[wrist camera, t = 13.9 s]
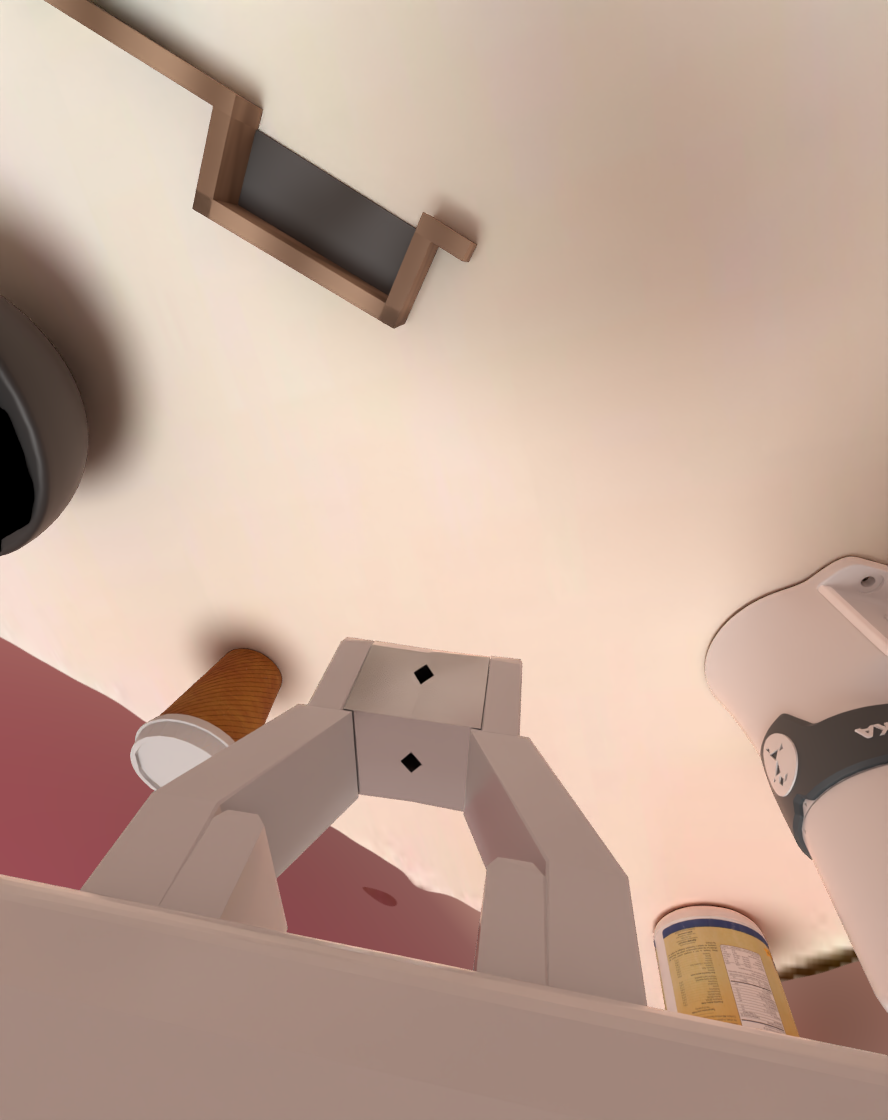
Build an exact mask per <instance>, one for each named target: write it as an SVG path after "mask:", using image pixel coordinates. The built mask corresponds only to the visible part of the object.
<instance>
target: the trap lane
mask: <svg viewBox="0 0 888 1120" xmlns="http://www.w3.org/2000/svg"><path fill="white" fill-rule="evenodd" d="M44 1H46V2H47V3H49V4H51V5H52V6H54V7H55V8H57V9H59V10H60V11H62V12H63V13H65V14H67V15H68V16H70V17H71V18H73V19H75V20H76V21H78V22H80V23H81V24H83V25H84V26H86V27H88V28H89V29H91V30H92V31H94V32H96V33H97V34H99V35H100V36H102V37H104V38H105V39H107V40H108V41H110V42H112V43H113V44H115V45H116V46H118V47H120V48H121V49H123V50H124V51H126V52H128V53H129V54H131V55H132V56H134V57H136V58H137V59H139V60H140V61H142V62H144V63H145V64H147V65H148V66H150V67H152V68H153V69H155V70H157V71H158V72H160V73H161V74H163V75H165V76H166V77H168V78H169V79H171V80H173V81H174V82H176V83H177V84H179V85H181V86H182V87H184V88H185V89H187V90H189V91H190V92H192V93H193V94H195V95H197V96H198V97H200V98H201V99H203V100H205V101H206V102H208V103H209V104H211V105H213V110H212V115H211V120H210V124H209V129H208V134H207V139H206V144H205V149H204V154H203V159H202V164H201V169H200V174H199V179H198V184H197V189H196V194H195V198H194V203H193V208H192V209H194V210H195V211H197V212H199V213H201V214H202V215H204V216H206V217H207V218H209V219H211V220H212V221H214V222H216V223H217V224H219V225H221V226H222V227H224V228H226V229H227V230H229V231H231V232H232V233H234V234H236V235H237V236H239V237H241V238H242V239H244V240H246V241H247V242H249V243H251V244H252V245H254V246H256V247H258V248H259V249H261V250H263V251H264V252H266V253H268V254H269V255H271V256H273V257H274V258H276V259H278V260H279V261H281V262H283V263H284V264H286V265H288V266H289V267H291V268H293V269H294V270H296V271H298V272H299V273H301V274H303V275H304V276H306V277H308V278H309V279H311V280H313V281H315V282H316V283H318V284H320V285H321V286H323V287H325V288H326V289H328V290H330V291H331V292H333V293H335V294H336V295H338V296H340V297H341V298H343V299H345V300H346V301H348V302H350V303H351V304H353V305H355V306H356V307H358V308H360V309H361V310H363V311H365V312H366V313H368V314H370V315H371V316H373V317H375V318H377V319H378V320H380V321H382V322H383V323H385V324H387V325H388V326H390V327H392V328H396V327H398V326H401V325H403V324H405V322H406V319H407V317H408V315H409V313H410V310H411V308H412V306H413V304H414V301H415V299H416V297H417V295H418V292H419V290H420V288H421V285H422V283H423V281H424V279H425V276H426V274H427V272H428V270H429V267H430V265H431V263H432V261H433V258H434V256H435V254H436V252H437V249H438V247H440V248H442V249H444V250H445V251H447V252H448V253H450V254H452V255H453V256H455V257H456V258H458V259H460V260H461V261H465V262H469V260H470V258H471V256H472V254H473V252H474V250H475V248H476V246H477V244H475V243H473V242H472V241H470V240H469V239H467V238H466V237H464V236H462V235H461V234H459V233H458V232H456V231H454V230H453V229H451V228H450V227H448V226H446V225H445V224H443V223H442V222H440V221H439V220H437V219H435V218H434V217H432V216H430V215H428V214H426V213H424V212H423V213H422V216H421V218H420V221H419V223H418V225H417V228H416V229H415V228H414V227H412V226H410V225H409V224H407V223H406V222H404V221H402V220H401V219H399V218H398V217H396V216H394V215H393V214H391V213H390V212H388V211H386V210H385V209H383V208H382V207H380V206H378V205H377V204H375V203H374V202H372V201H370V200H369V199H367V198H366V197H364V196H362V195H361V194H359V193H358V192H356V191H354V190H353V189H351V188H350V187H348V186H346V185H345V184H343V183H342V182H340V181H338V180H337V179H335V178H334V177H332V176H330V175H329V174H327V173H326V172H324V171H322V170H321V169H319V168H318V167H316V166H314V165H313V164H311V163H310V162H308V161H306V160H305V159H303V158H302V157H300V156H298V155H297V154H295V153H294V152H292V151H290V150H289V149H287V148H286V147H284V146H282V145H281V144H279V143H278V142H276V141H274V140H273V139H271V138H270V137H268V136H266V135H265V134H263V133H261V132H260V131H258V127H259V123H260V119H261V115H262V111H263V110H262V109H261V108H259V107H257V106H256V105H254V104H253V103H251V102H250V101H248V100H246V99H245V98H243V97H242V96H240V95H238V94H237V93H235V92H234V91H232V90H230V89H229V88H227V87H226V86H224V85H223V84H221V83H219V82H218V81H216V80H215V79H213V78H211V77H210V76H208V75H207V74H205V73H203V72H202V71H200V70H199V69H197V68H196V67H194V66H192V65H191V64H189V63H188V62H186V61H184V60H183V59H181V58H180V57H178V56H177V55H175V54H173V53H172V52H170V51H169V50H167V49H165V48H164V47H162V46H161V45H159V44H157V43H156V42H154V41H153V40H151V39H150V38H148V37H146V36H145V35H143V34H142V33H140V32H138V31H137V30H135V29H134V28H132V27H130V26H129V25H127V24H126V23H124V22H123V21H121V20H119V19H118V18H116V17H115V16H113V15H111V14H110V13H108V12H107V11H105V10H103V9H102V8H100V7H99V6H97V5H96V4H94V3H92V2H91V1H89V0H44Z"/></svg>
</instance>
